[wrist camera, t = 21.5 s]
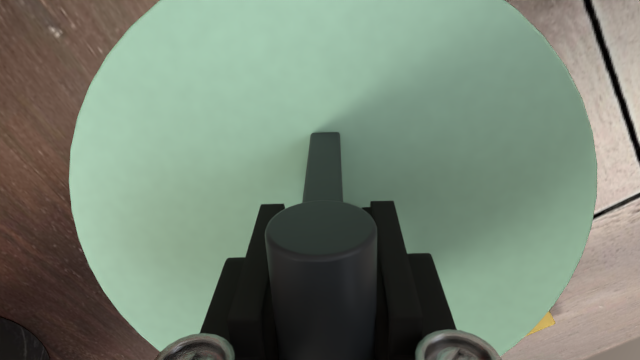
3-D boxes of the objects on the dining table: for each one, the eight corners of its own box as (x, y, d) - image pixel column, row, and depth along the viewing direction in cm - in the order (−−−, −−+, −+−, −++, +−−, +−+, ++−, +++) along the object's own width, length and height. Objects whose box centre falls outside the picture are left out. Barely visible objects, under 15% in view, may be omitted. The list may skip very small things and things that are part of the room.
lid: (631, -70, 10) (1071, -117, 4) (532, 377, 16) (652, 624, 10) (22, -40, 10) (-377, -41, 5) (146, 381, 16) (41, 618, 10)
